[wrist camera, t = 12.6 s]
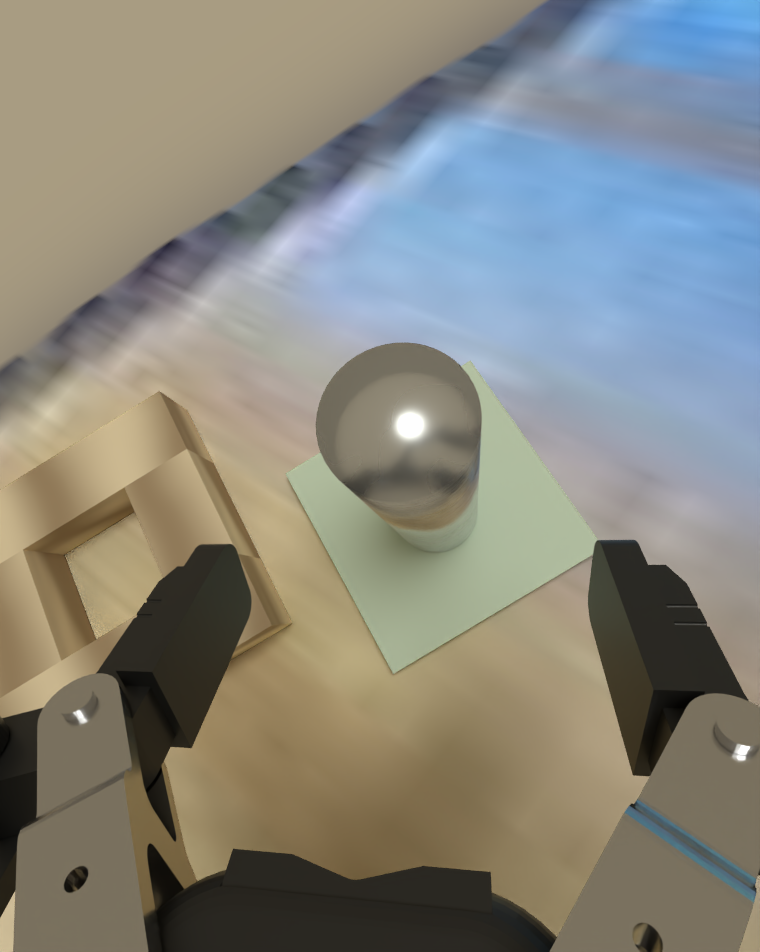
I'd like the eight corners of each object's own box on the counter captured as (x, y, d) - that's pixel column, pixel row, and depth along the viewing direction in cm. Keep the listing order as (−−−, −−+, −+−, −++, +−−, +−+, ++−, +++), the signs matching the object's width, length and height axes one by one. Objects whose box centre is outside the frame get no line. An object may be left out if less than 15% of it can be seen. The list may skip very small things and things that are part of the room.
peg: (448, 455, 23) (424, 313, 12) (494, 524, 22) (515, 442, 11) (379, 498, 23) (288, 398, 12) (421, 568, 22) (366, 534, 11)
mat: (470, 366, 25) (470, 360, 24) (600, 549, 22) (603, 547, 21) (289, 476, 25) (285, 473, 24) (395, 671, 22) (393, 674, 22)
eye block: (187, 410, 27) (159, 391, 24) (292, 622, 23) (271, 625, 21) (-11, 532, 27) (-58, 525, 25) (64, 760, 24) (18, 778, 21)
